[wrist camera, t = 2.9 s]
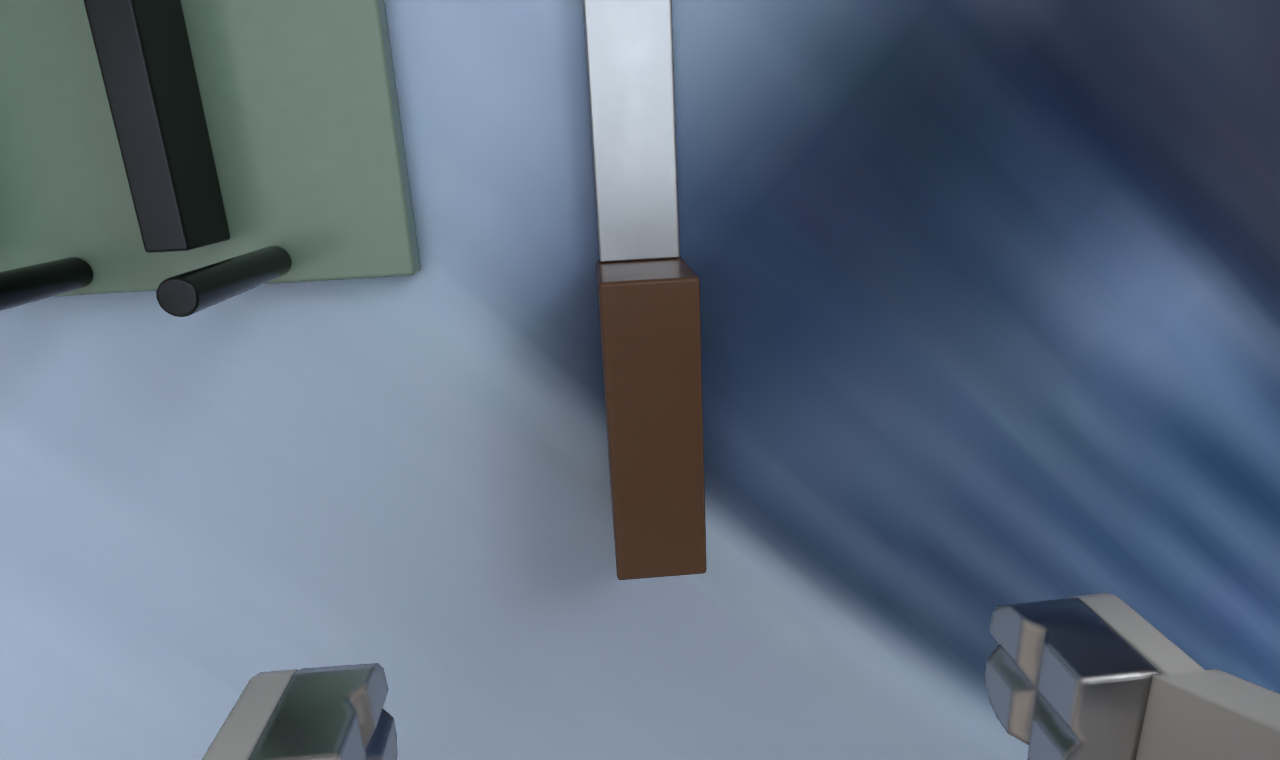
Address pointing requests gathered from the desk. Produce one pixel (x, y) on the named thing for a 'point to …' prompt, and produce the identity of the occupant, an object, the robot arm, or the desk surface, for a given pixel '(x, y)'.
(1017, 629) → the robot arm
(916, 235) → the desk surface
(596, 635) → the desk surface
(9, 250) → the rack
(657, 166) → the knife
